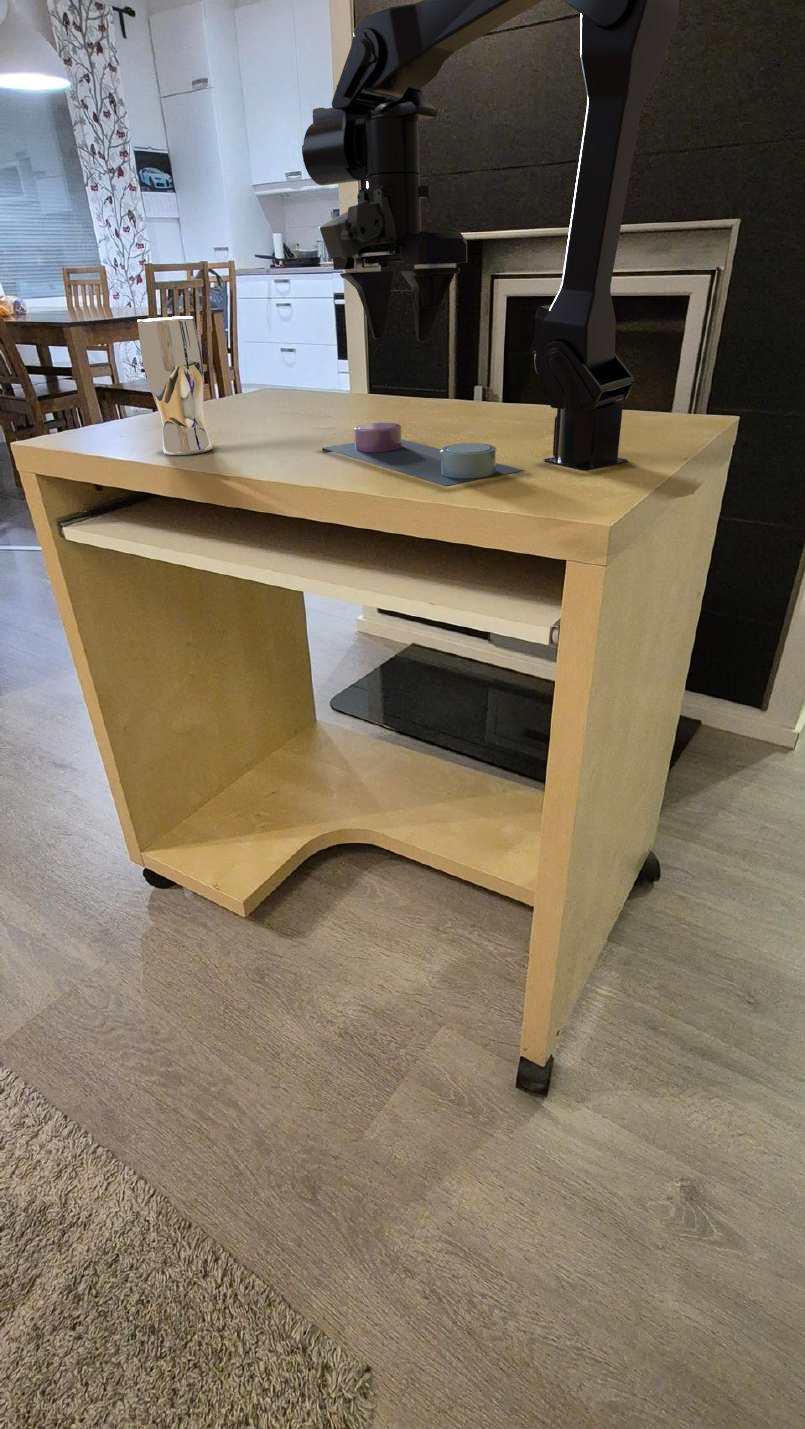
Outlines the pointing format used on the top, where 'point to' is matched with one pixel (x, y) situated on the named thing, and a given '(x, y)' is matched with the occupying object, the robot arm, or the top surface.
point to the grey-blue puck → (468, 460)
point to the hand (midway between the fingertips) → (399, 339)
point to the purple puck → (377, 437)
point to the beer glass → (176, 382)
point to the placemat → (412, 461)
